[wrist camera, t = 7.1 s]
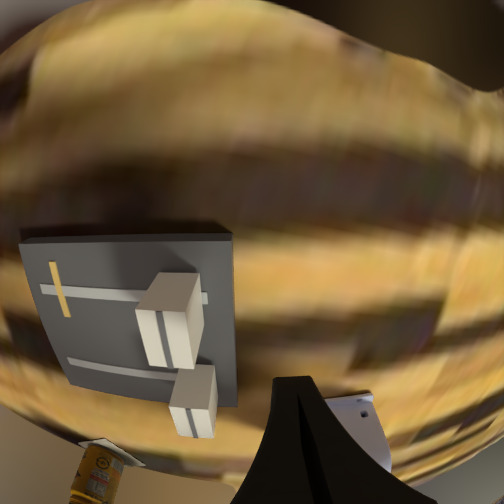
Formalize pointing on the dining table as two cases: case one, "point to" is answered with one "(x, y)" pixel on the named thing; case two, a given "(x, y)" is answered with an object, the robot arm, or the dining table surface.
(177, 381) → the fader far
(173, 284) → the fader near
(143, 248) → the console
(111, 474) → the condiment
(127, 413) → the dining table surface
